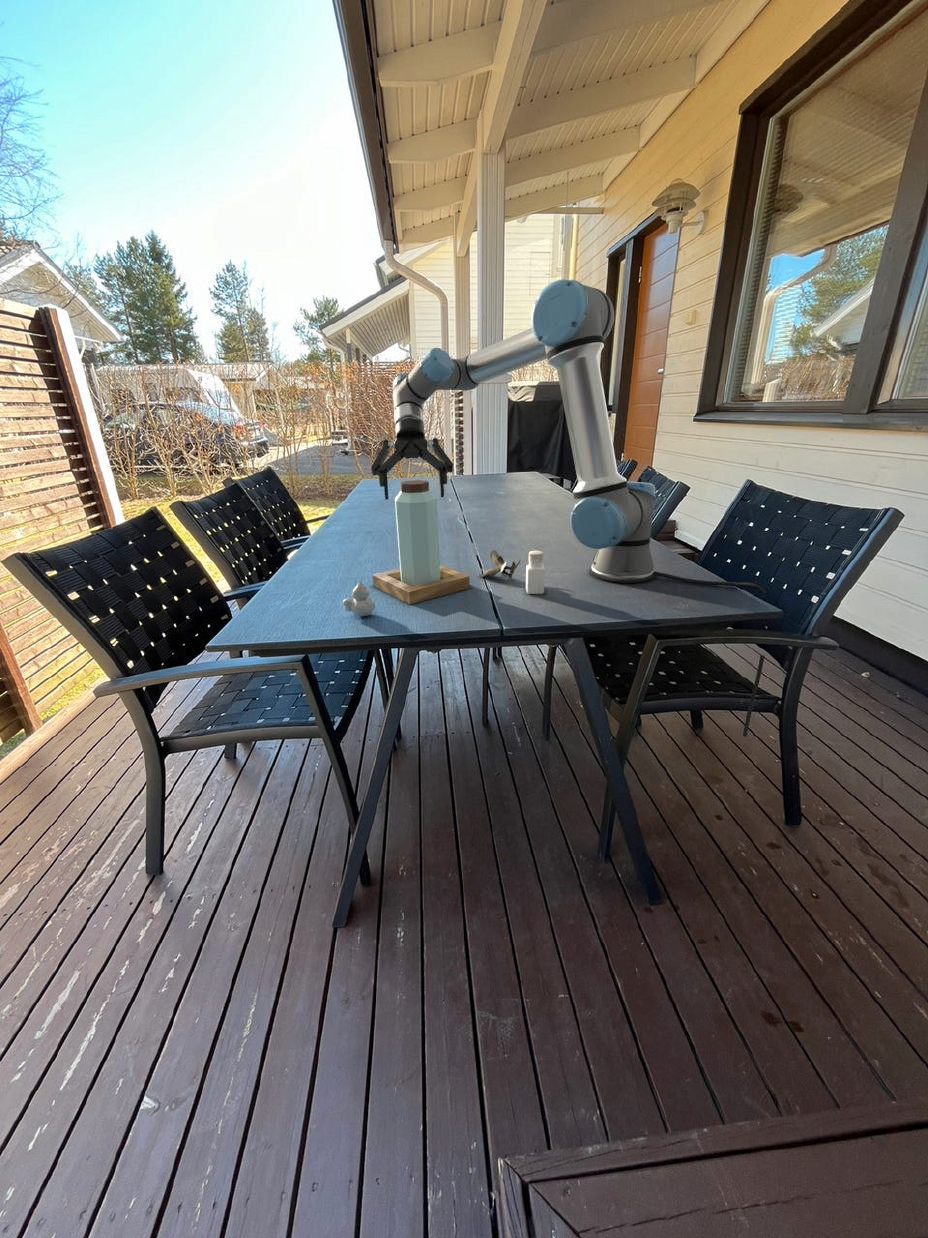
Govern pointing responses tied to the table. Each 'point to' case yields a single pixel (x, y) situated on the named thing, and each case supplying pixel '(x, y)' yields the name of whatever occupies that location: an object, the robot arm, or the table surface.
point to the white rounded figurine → (360, 601)
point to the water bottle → (417, 533)
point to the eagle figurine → (500, 566)
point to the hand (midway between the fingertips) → (414, 495)
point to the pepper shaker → (535, 573)
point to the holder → (410, 595)
